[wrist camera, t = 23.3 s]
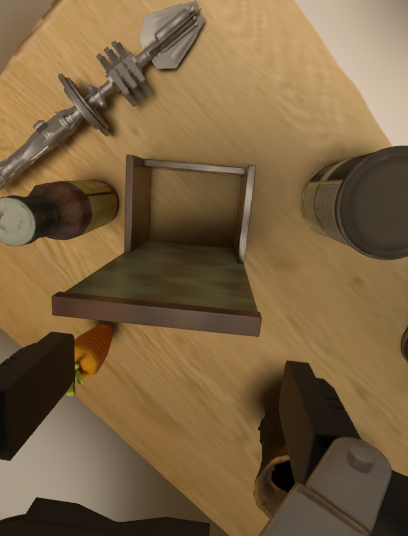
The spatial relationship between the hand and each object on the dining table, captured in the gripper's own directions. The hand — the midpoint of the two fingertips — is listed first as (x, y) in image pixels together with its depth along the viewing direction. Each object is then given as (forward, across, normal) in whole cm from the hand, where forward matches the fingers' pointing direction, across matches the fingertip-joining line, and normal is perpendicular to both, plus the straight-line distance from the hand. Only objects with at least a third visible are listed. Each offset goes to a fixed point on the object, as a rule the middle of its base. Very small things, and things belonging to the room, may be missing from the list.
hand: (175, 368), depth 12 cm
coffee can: (+34, -16, -7) cm, 38 cm away
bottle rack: (+34, +3, -4) cm, 34 cm away
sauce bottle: (+33, +17, -3) cm, 37 cm away
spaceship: (+33, +17, -15) cm, 40 cm away
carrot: (+34, +15, +16) cm, 40 cm away
